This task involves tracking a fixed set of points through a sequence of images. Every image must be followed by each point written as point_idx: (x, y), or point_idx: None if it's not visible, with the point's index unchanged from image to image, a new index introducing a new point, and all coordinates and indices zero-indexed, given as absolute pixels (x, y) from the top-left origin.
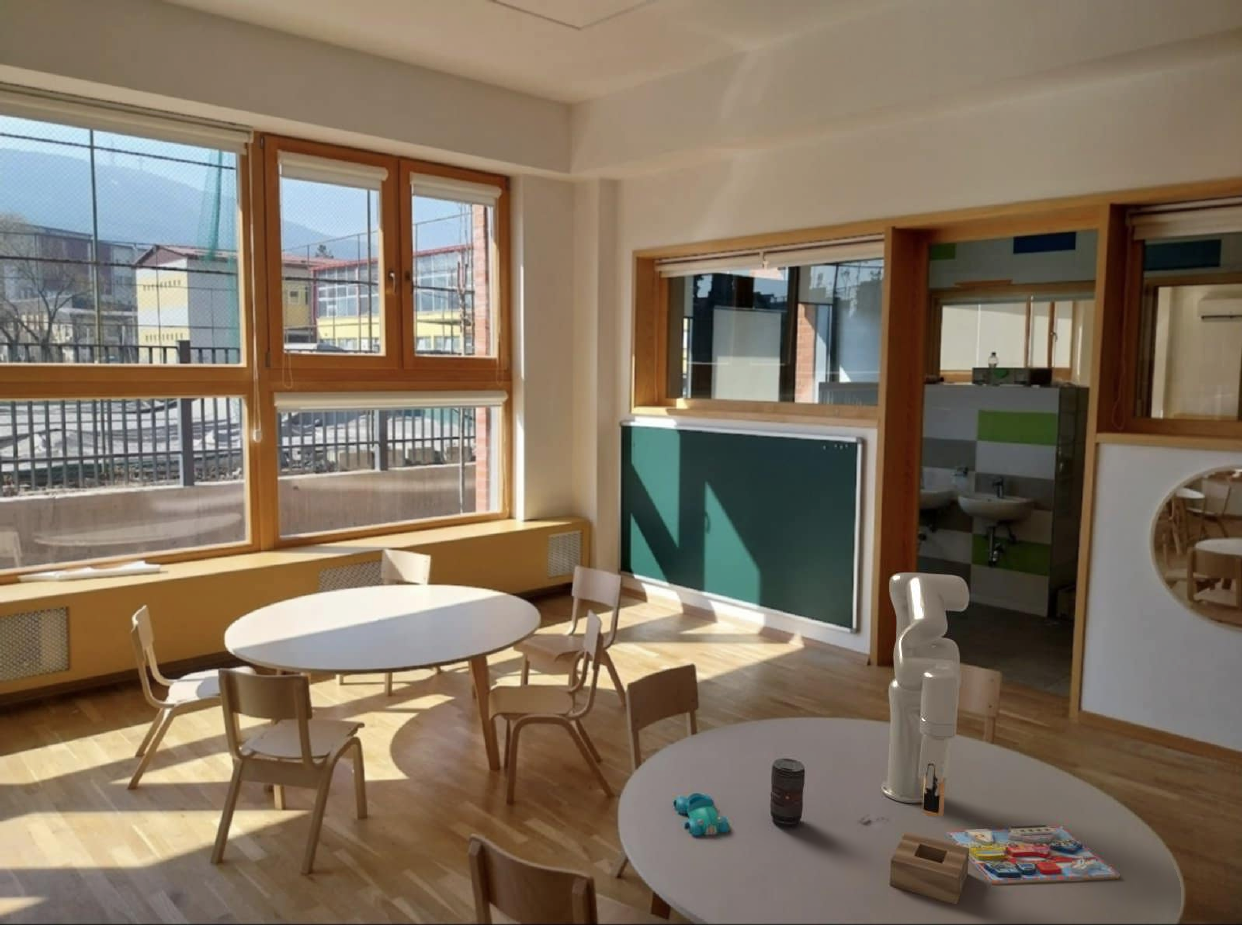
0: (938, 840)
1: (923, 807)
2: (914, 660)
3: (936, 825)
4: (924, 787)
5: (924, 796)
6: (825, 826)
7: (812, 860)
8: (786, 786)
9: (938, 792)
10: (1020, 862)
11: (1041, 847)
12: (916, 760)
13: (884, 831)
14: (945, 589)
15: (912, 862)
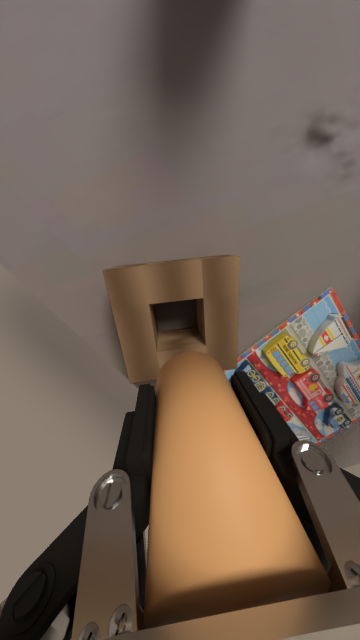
0: (237, 321)
1: (139, 389)
2: None
3: (349, 267)
4: (172, 461)
5: (131, 437)
6: (260, 31)
7: (87, 74)
8: None
9: (144, 533)
10: (271, 395)
11: (321, 402)
12: None
13: (294, 189)
14: None
15: (122, 310)
